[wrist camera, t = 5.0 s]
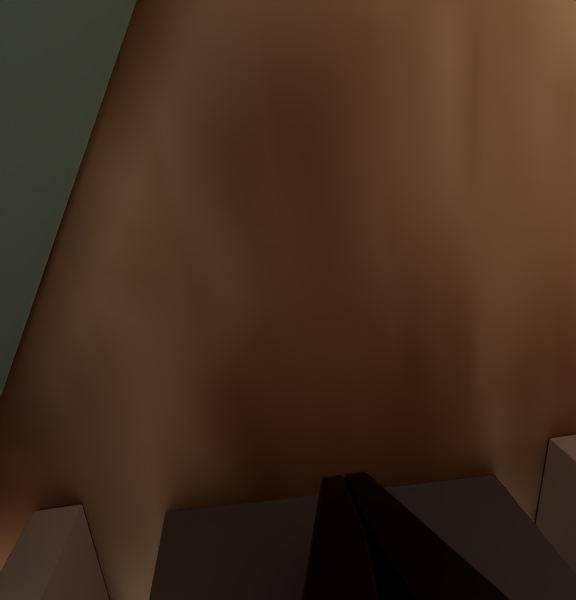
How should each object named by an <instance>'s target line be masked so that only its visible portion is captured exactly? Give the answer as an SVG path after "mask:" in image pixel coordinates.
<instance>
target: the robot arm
mask: <svg viewBox="0 0 576 600" xmlns="http://www.w3.org/2000/svg"><path fill="white" fill-rule="evenodd" d="M301 600H511V599H510V598H508V597H507V596H506V595H505V594H504V593H503V592H502V591H501V590H499V589H498V588H497V587H496V586H495V585H494V584H493V583H491V582H490V581H489V580H488V579H487V578H486V577H485V576H484V575H482V574H481V573H480V572H479V571H478V570H477V569H476V568H474V567H473V566H472V565H471V564H470V563H469V562H468V561H466V560H465V559H464V558H463V557H462V556H461V555H460V554H459V553H457V552H456V551H455V550H454V549H453V548H452V547H451V546H449V545H448V544H447V543H446V542H445V541H444V540H443V539H442V538H440V537H439V536H438V535H437V534H436V533H435V532H434V531H432V530H431V529H430V528H429V527H428V526H427V525H426V524H424V523H423V522H422V521H421V520H420V519H419V518H418V517H417V516H415V515H414V514H413V513H412V512H411V511H410V510H409V509H407V508H406V507H405V506H404V505H403V504H402V503H401V502H400V501H398V500H397V499H396V498H395V497H394V496H393V495H392V494H390V493H389V492H388V491H387V490H386V489H385V488H384V487H382V486H381V485H380V484H379V483H378V482H377V481H376V480H375V479H373V478H372V477H371V476H370V475H369V474H368V473H366V472H363V471H361V472H354V473H348V474H346V475H345V476H344V477H343V476H342V475H333V476H326V477H323V478H322V480H321V485H320V491H319V497H318V503H317V509H316V515H315V521H314V527H313V533H312V539H311V545H310V551H309V557H308V563H307V569H306V575H305V581H304V587H303V593H302V599H301Z"/></svg>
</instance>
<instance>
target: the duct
mask: <svg viewBox="0 0 576 600" xmlns="http://www.w3.org/2000/svg"><path fill="white" fill-rule="evenodd" d="M535 525H536V526H537V528H538V529H539V530H540V531H541V532H542V534H543V535H544V536H545V537H546V539H547V540H548V541H549V542H550V543H551V545H552V546H553V547H554V548H555V550H556V551H557V552H558V553H559V555H560V556H561V557H562V558H563V559H564V561H565V562H566V563H567V564H568V566H569V567H570V568H571V569H572V570H573V572H574V573H575V574H576V435H570V436H563V437H556V438H550V440H549V446H548V452H547V458H546V464H545V470H544V476H543V482H542V488H541V494H540V500H539V506H538V512H537V518H536V524H535ZM0 600H109V597H108V594H107V590H106V587H105V583H104V580H103V576H102V573H101V569H100V566H99V562H98V559H97V556H96V552H95V549H94V545H93V542H92V538H91V535H90V531H89V528H88V524H87V521H86V517H85V514H84V510H83V507H82V504H81V505H74V506H67V507H60V508H53V509H46V510H39V511H34V512H33V514H32V516H31V518H30V519H29V521H28V523H27V525H26V527H25V528H24V530H23V532H22V534H21V536H20V537H19V539H18V541H17V543H16V545H15V546H14V548H13V550H12V552H11V554H10V555H9V557H8V559H7V561H6V563H5V564H4V566H3V568H2V570H1V572H0Z"/></svg>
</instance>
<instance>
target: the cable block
mask: <svg viewBox="0 0 576 600" xmlns="http://www.w3.org/2000/svg"><path fill="white" fill-rule="evenodd" d="M384 488H385V489H386V490H387V491H388V492H389V493H390V494H392V495H393V496H394V497H395V498H396V499H397V500H398V501H400V502H401V503H402V504H403V505H404V506H405V507H406V508H407V509H409V510H410V511H411V512H412V513H413V514H414V515H415V516H417V517H418V518H419V519H420V520H421V521H422V522H423V523H424V524H426V525H427V526H428V527H429V528H430V529H431V530H432V531H434V532H435V533H436V534H437V535H438V536H439V537H440V538H442V539H443V540H444V541H445V542H446V543H447V544H448V545H449V546H451V547H452V548H453V549H454V550H455V551H456V552H457V553H459V554H460V555H461V556H462V557H463V558H464V559H465V560H466V561H468V562H469V563H470V564H471V565H472V566H473V567H474V568H476V569H477V570H478V571H479V572H480V573H481V574H482V575H484V576H485V577H486V578H487V579H488V580H489V581H490V582H491V583H493V584H494V585H495V586H496V587H497V588H498V589H499V590H501V591H502V592H503V593H504V594H505V595H506V596H507V597H508V598H510V599H511V600H576V574H575V573H574V572H573V570H572V569H571V568H570V567H569V566H568V564H567V563H566V562H565V561H564V559H563V558H562V557H561V556H560V555H559V553H558V552H557V551H556V550H555V548H554V547H553V546H552V545H551V543H550V542H549V541H548V540H547V539H546V537H545V536H544V535H543V534H542V532H541V531H540V530H539V529H538V528H537V526H536V525H535V524H534V523H533V521H532V520H531V519H530V518H529V517H528V515H527V514H526V513H525V512H524V510H523V509H522V508H521V507H520V506H519V504H518V503H517V502H516V501H515V499H514V498H513V497H512V496H511V495H510V493H509V492H508V491H507V490H506V488H505V487H504V486H503V485H502V484H501V482H500V481H499V480H498V479H497V477H496V476H495V475H490V476H481V477H472V478H463V479H454V480H446V481H437V482H428V483H419V484H410V485H401V486H392V487H384ZM318 497H319V495H312V496H303V497H294V498H285V499H276V500H268V501H259V502H250V503H241V504H232V505H223V506H214V507H205V508H196V509H187V510H178V511H170V512H166V513H165V518H164V524H163V529H162V534H161V540H160V545H159V550H158V556H157V561H156V566H155V572H154V577H153V582H152V588H151V593H150V598H149V600H301V599H302V593H303V587H304V581H305V575H306V569H307V563H308V557H309V551H310V545H311V539H312V533H313V527H314V521H315V515H316V509H317V503H318Z"/></svg>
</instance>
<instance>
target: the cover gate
mask: <svg viewBox="0 0 576 600" xmlns="http://www.w3.org/2000/svg"><path fill="white" fill-rule="evenodd" d="M136 1H137V0H0V398H1V395H2V392H3V389H4V386H5V383H6V380H7V377H8V374H9V371H10V368H11V365H12V363H13V360H14V357H15V354H16V351H17V348H18V345H19V342H20V339H21V336H22V333H23V331H24V328H25V325H26V322H27V319H28V316H29V313H30V310H31V307H32V304H33V301H34V298H35V296H36V293H37V290H38V287H39V284H40V281H41V278H42V275H43V272H44V269H45V266H46V263H47V261H48V258H49V255H50V252H51V249H52V246H53V243H54V240H55V237H56V234H57V231H58V228H59V226H60V223H61V220H62V217H63V214H64V211H65V208H66V205H67V202H68V199H69V196H70V193H71V191H72V188H73V185H74V182H75V179H76V176H77V173H78V170H79V167H80V164H81V161H82V158H83V156H84V153H85V150H86V147H87V144H88V141H89V138H90V135H91V132H92V129H93V126H94V123H95V121H96V118H97V115H98V112H99V109H100V106H101V103H102V100H103V97H104V94H105V91H106V88H107V86H108V83H109V80H110V77H111V74H112V71H113V68H114V65H115V62H116V59H117V56H118V53H119V51H120V48H121V45H122V42H123V39H124V36H125V33H126V30H127V27H128V24H129V21H130V18H131V16H132V13H133V10H134V7H135V4H136Z"/></svg>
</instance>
